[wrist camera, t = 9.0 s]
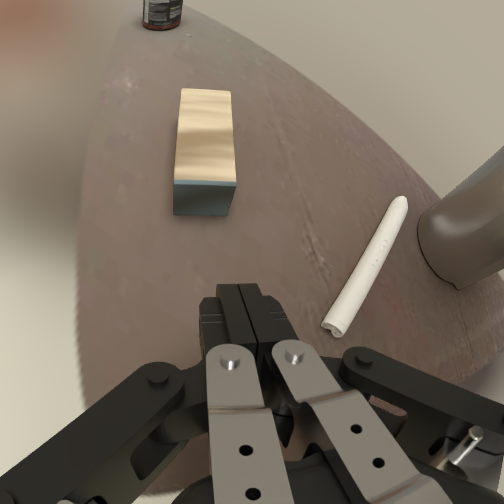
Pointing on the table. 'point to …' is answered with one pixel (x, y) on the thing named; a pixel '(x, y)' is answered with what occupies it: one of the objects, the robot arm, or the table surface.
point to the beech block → (204, 154)
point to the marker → (366, 269)
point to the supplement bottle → (161, 13)
